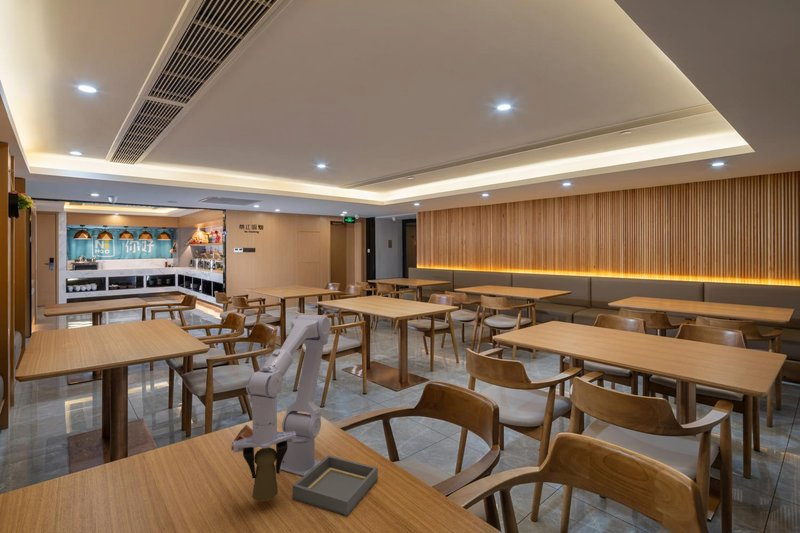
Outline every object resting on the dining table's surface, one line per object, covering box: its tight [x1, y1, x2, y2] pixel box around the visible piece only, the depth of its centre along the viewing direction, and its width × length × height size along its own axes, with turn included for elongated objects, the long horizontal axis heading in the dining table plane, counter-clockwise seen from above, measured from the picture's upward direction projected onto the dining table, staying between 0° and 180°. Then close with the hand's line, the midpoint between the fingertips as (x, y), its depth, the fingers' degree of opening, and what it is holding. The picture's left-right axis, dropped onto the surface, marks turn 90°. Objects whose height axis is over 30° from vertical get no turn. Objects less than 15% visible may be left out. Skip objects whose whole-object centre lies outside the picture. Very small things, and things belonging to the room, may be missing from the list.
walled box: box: [292, 454, 379, 517], centre depth 106 cm, size 16×16×4 cm
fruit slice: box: [232, 424, 253, 445], centre depth 129 cm, size 8×7×5 cm
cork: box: [252, 447, 279, 502], centre depth 100 cm, size 6×6×11 cm
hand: (265, 473), depth 100 cm, fingers closed on cork, 5 cm apart
